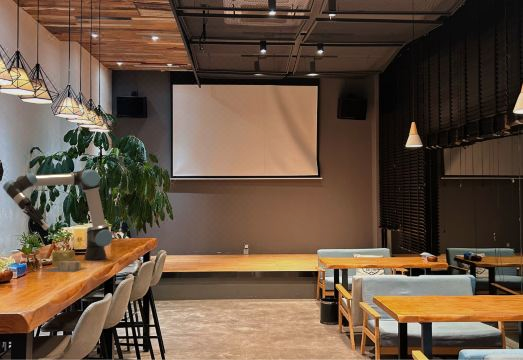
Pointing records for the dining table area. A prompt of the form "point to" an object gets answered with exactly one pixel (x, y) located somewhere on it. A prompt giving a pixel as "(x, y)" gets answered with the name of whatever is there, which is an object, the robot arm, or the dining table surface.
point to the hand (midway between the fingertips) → (47, 228)
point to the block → (70, 265)
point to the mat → (56, 269)
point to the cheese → (62, 256)
